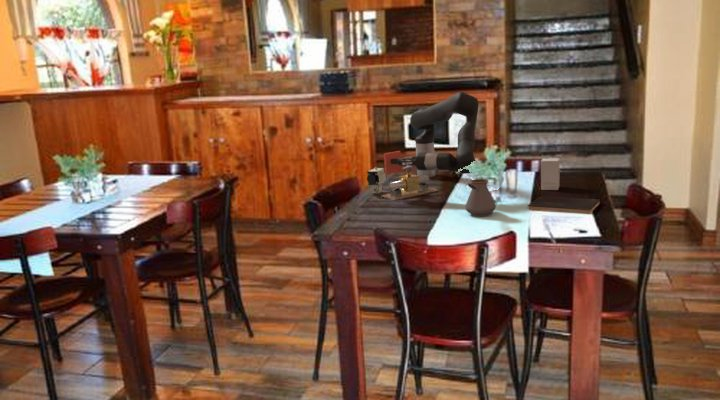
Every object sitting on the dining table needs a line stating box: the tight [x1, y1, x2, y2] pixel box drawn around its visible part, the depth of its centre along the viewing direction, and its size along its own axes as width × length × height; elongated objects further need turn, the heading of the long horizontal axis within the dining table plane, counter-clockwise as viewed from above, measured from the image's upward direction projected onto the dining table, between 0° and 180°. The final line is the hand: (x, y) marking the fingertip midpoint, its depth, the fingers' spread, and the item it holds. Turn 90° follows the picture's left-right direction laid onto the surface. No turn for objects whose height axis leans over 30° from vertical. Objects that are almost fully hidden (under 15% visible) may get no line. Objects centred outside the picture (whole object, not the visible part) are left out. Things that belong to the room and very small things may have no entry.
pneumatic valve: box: [366, 166, 387, 195], centre depth 287 cm, size 6×12×12 cm, turn 154°
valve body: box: [381, 171, 439, 201], centre depth 280 cm, size 24×10×10 cm, turn 122°
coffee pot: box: [464, 178, 497, 217], centre depth 232 cm, size 21×12×15 cm, turn 155°
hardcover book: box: [527, 195, 601, 214], centre depth 238 cm, size 16×23×2 cm
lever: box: [383, 150, 414, 175], centre depth 275 cm, size 14×4×9 cm, turn 124°
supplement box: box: [540, 157, 561, 191], centre depth 269 cm, size 7×7×13 cm
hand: (391, 161), depth 270 cm, fingers closed
